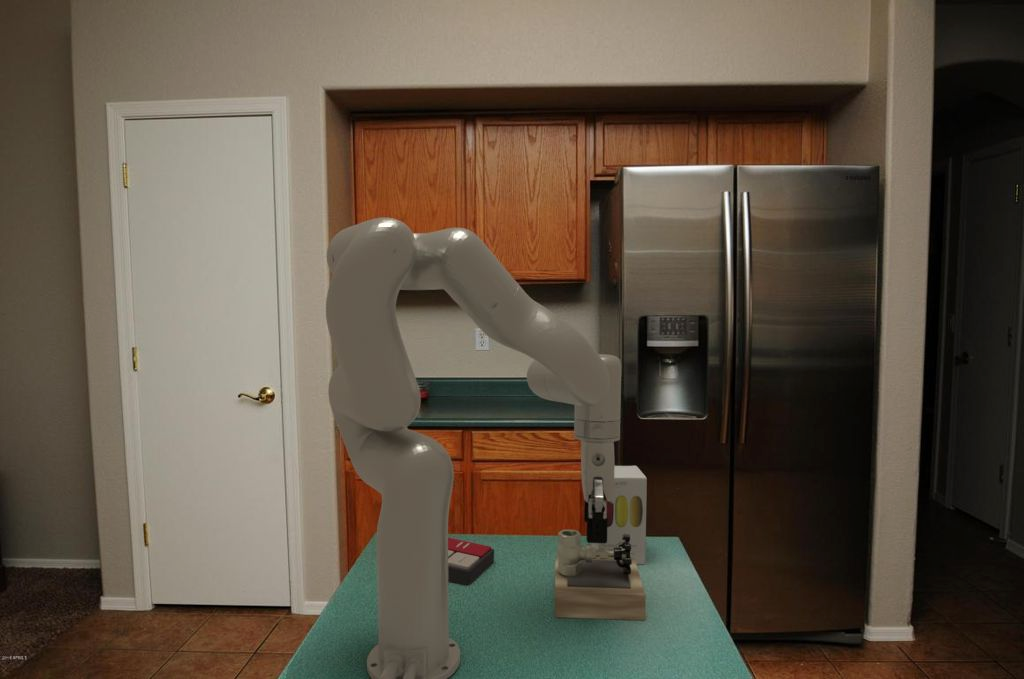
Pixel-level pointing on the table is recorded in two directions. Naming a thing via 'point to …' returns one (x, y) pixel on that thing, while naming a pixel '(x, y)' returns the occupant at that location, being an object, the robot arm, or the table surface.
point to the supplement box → (627, 512)
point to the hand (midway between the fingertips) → (595, 531)
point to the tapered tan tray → (600, 592)
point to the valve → (588, 553)
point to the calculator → (467, 561)
